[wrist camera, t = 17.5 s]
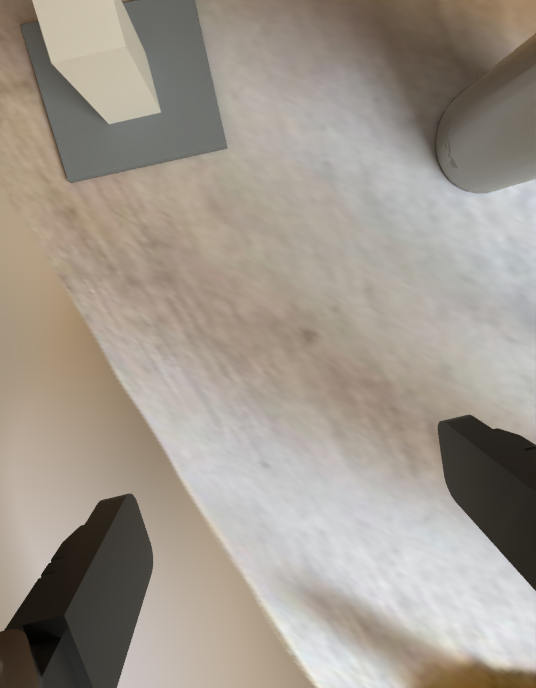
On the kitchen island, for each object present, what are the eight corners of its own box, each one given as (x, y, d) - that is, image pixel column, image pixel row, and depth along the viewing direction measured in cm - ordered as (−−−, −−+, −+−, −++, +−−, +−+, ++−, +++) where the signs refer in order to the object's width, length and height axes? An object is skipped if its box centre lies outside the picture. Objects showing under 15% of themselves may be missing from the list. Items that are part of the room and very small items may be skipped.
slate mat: (192, -7, 32) (191, -12, 31) (227, 148, 34) (226, 146, 34) (24, 29, 32) (20, 25, 31) (71, 182, 34) (68, 181, 33)
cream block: (145, 53, 32) (102, -42, 22) (161, 112, 33) (125, 46, 23) (92, 65, 32) (24, -24, 22) (109, 124, 33) (51, 63, 23)
